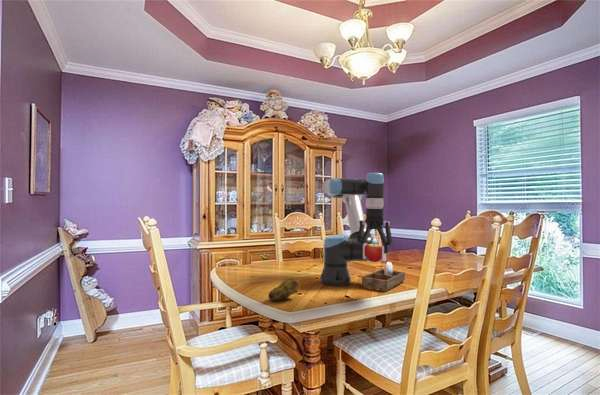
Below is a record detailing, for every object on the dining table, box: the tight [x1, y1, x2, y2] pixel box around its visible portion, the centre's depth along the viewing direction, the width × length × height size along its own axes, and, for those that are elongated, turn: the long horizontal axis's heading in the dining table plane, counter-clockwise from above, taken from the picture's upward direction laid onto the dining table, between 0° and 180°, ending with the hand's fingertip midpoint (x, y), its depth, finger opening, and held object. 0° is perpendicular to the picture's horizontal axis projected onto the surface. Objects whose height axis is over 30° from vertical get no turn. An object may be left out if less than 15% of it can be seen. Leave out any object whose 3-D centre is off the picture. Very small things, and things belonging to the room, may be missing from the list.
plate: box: [384, 261, 394, 276], centre depth 163 cm, size 1×9×9 cm, turn 143°
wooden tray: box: [361, 268, 406, 292], centre depth 159 cm, size 12×23×5 cm, turn 143°
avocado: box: [268, 278, 299, 302], centre depth 133 cm, size 8×13×8 cm, turn 104°
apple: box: [364, 239, 383, 263], centre depth 143 cm, size 8×8×10 cm
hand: (374, 259), depth 143 cm, fingers closed on apple, 8 cm apart
